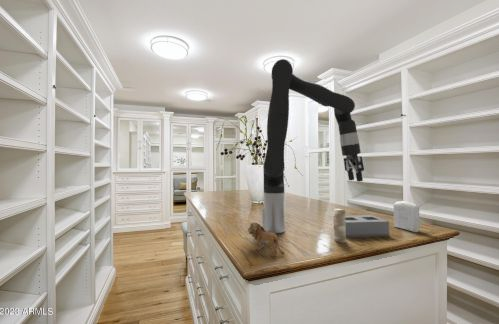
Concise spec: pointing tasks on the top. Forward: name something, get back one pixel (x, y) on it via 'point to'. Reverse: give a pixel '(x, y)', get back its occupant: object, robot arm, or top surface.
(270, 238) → the lion figurine
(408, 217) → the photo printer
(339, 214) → the pin
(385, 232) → the hole block
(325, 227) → the top surface
